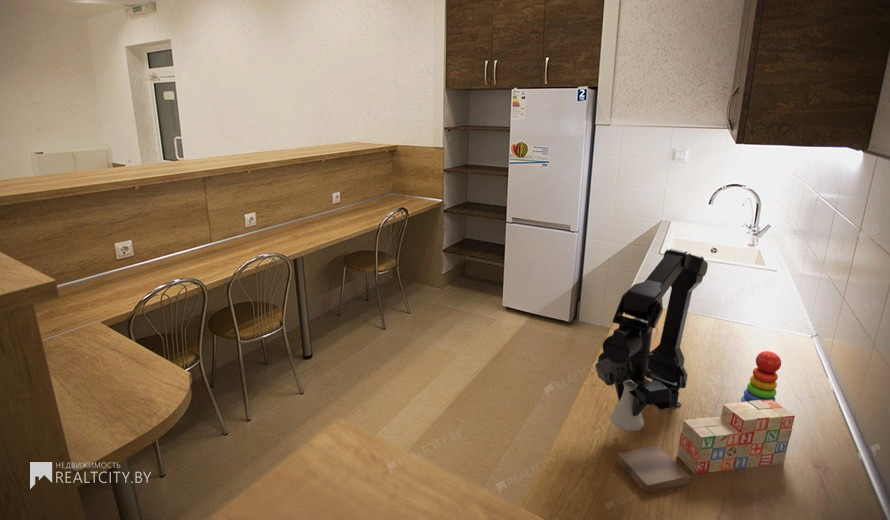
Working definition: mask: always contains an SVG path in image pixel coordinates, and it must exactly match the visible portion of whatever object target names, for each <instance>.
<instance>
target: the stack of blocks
mask: <svg viewBox="0 0 890 520" xmlns="http://www.w3.org/2000/svg"><path fill="white" fill-rule="evenodd" d="M720 413H721V414H720V416H712V417H701V418H700V417H699V418H691V419H683V422H682V427H681V432H680V434H679V435H680V437H679V444H678V449H677V456H678V457H679V459H680V460H681V461H682V462H683V463H684V464H685V465H686V467H688V469H690V471H691V472H692V473H693V475H694V474H696V475H697V474H702V473H715V472H720V471H721V472H722V471H723V472H724V471H733V470H738V469H739V470H740V469H748V468H749V469H750V468H755V467H766V466H774V465H776V466H777V465H783V464H785V463H784V462H785V459H786V457H787V456H786V455H787V450H788V446H789V442H790V440H791V436H792V432H793V425H794V421H795V417H796V416H795V414H793V413H792V412H791V411H790V410H788V409H787V408H785V407H783V405H781V404H779V403H778V402H776V400H775V401H773V400H762V401H760V400H755V401H748V402H741V401H740V402H731V403H723V404H722V409H721V412H720Z"/></svg>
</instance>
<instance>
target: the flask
mask: <svg viewBox="0 0 890 520" xmlns="http://www.w3.org/2000/svg"><path fill="white" fill-rule="evenodd" d="M623 385H624V391H623V394H622V397H621V399H620V401H619V400H618V403H617V404H616V405H615V408H614V409H613V411H612V412H611V414H610V416H609V417H608V419H609V420H610V421H611V423H612V424H613V426H615V427H616V428H619V429H621V430H623V431H625V432H633V431H634V432H635V431H640V430H641V429H642V428H643V427H644V426H645V422H644V418H643V415H642V411H641V412H640V414H639V415H638V416H633V396H632V395H631V394H630V393H629V391H633V390H636V387H637V386H638V385H637V384H636V383H633V382H631V381H630V380H627V381H625V382H623Z"/></svg>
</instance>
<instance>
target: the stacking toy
mask: <svg viewBox="0 0 890 520" xmlns="http://www.w3.org/2000/svg"><path fill="white" fill-rule="evenodd" d="M755 365H756V367H755V368H753V370H752V375H751V376H750V378H749V382H748V383H747V385H746V388H745V389H744V391H743V395H741V399H740V402H748V401H755V400H760V401H762V400H773V401H775V402H776V397H775V396H776V395H777V387H778V383H777V381H778V378H779V375H778V373H777V372H778V371H779V370H780V369H781V367H782V366H781V365H782V360H781V358H780V356H779V355H778V354H777V353H775V352H773V351H770V350H764V351H761V352H760V353H758V354H757V355H756V357H755Z"/></svg>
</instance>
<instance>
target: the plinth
mask: <svg viewBox="0 0 890 520" xmlns="http://www.w3.org/2000/svg"><path fill="white" fill-rule="evenodd" d="M616 462H617V463H618V465H619V466H620V467H622V469H623V470H624V471H625V472H626V473H627V474H628V475H629V476H630V478H631V479H632V478H633V479H634V480H635V481H636V482H637V483H638V484H639V485H638V484H637V483H636V482H635V481H634V480H633V481H634V482H635V483H636V484H637V485H638V486H639V487H640V488H641V490H642V489H643V490H642V491H643V492H644V493H645V494H650V492H652V493H656V492H659V490H661V491H664V489H665V490H669V489H673V488H672V487H674V488H678V487H682V485H683V486H686V485H689V484H690V483H689V482H690V478H691V476H690V475H689V474H688V473H687V471H686V470H684V469H683V468H682V467H681V466H680V465H679V464H678V463H677V462H675V461H674V459H673V458H671V457H670V456H669V455H668V454H667V453H666V452H665V451H664V450H663V449H662V448H661V447H660V446H659V445H651V446H649V447H648V446H647V447H642V448H637V449H633V450H628V451H623V452H618V453H617V455H616ZM668 488H669V489H668ZM655 491H656V492H655Z"/></svg>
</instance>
